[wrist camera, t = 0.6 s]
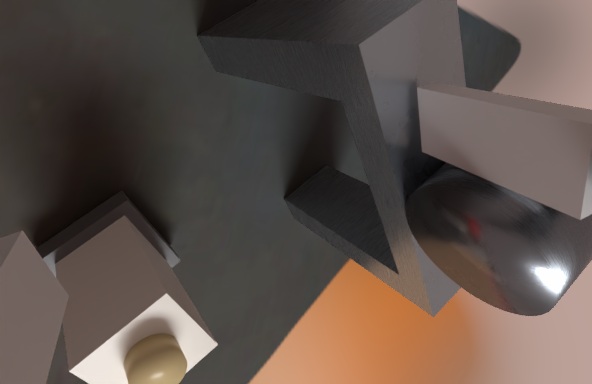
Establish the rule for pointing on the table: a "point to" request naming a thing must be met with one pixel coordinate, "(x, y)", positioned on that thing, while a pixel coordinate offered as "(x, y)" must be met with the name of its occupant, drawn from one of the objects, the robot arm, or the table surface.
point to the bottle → (124, 299)
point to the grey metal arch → (402, 154)
